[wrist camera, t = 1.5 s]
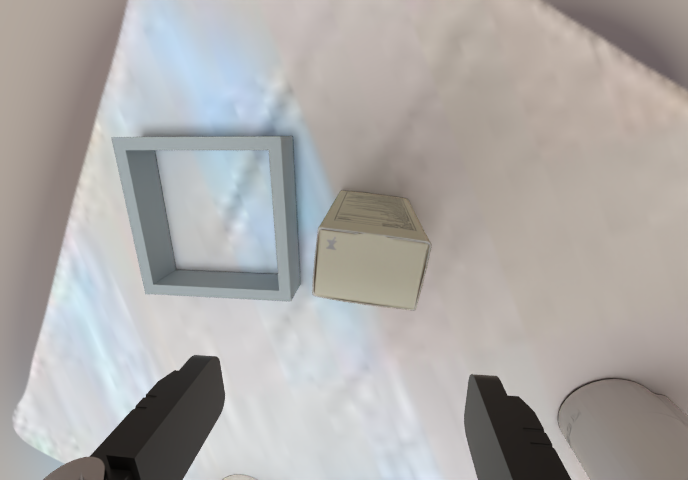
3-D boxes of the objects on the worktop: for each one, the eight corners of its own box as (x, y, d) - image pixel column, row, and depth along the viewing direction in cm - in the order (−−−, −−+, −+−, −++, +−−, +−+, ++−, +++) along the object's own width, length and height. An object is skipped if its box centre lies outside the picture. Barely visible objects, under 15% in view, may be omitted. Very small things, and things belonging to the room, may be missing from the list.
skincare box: (335, 234, 30) (304, 297, 19) (340, 188, 29) (311, 225, 17) (404, 244, 30) (417, 315, 18) (412, 198, 28) (433, 242, 17)
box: (292, 136, 28) (280, 136, 24) (300, 284, 32) (290, 301, 29) (141, 136, 29) (111, 137, 26) (168, 278, 34) (145, 293, 30)
